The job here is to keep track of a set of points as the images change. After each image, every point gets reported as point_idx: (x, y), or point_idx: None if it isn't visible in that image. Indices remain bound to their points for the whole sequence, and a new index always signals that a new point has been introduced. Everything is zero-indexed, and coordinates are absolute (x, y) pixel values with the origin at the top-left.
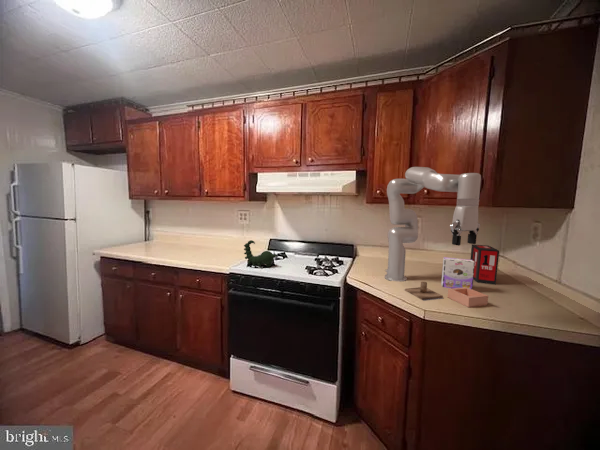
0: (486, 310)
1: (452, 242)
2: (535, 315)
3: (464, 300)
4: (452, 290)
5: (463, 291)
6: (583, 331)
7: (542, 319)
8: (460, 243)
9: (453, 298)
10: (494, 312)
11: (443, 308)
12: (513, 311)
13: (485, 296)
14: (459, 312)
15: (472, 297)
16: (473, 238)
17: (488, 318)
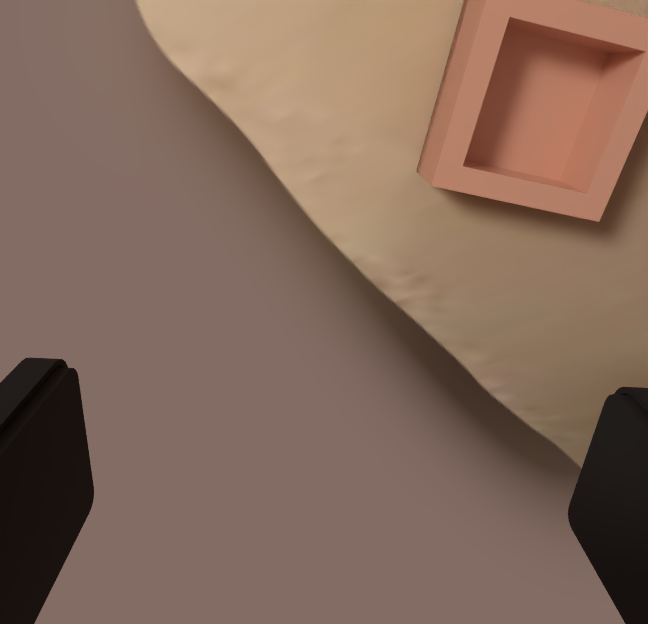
0: (490, 232)
1: (7, 386)
2: (640, 367)
3: (434, 145)
4: (483, 24)
5: (602, 45)
6: None
7: None
8: (77, 532)
9: (457, 47)
10: (499, 265)
11: (270, 94)
12: (607, 302)
13: (573, 215)
14: (311, 178)
15: (462, 191)
16: (641, 603)
17: (384, 289)
